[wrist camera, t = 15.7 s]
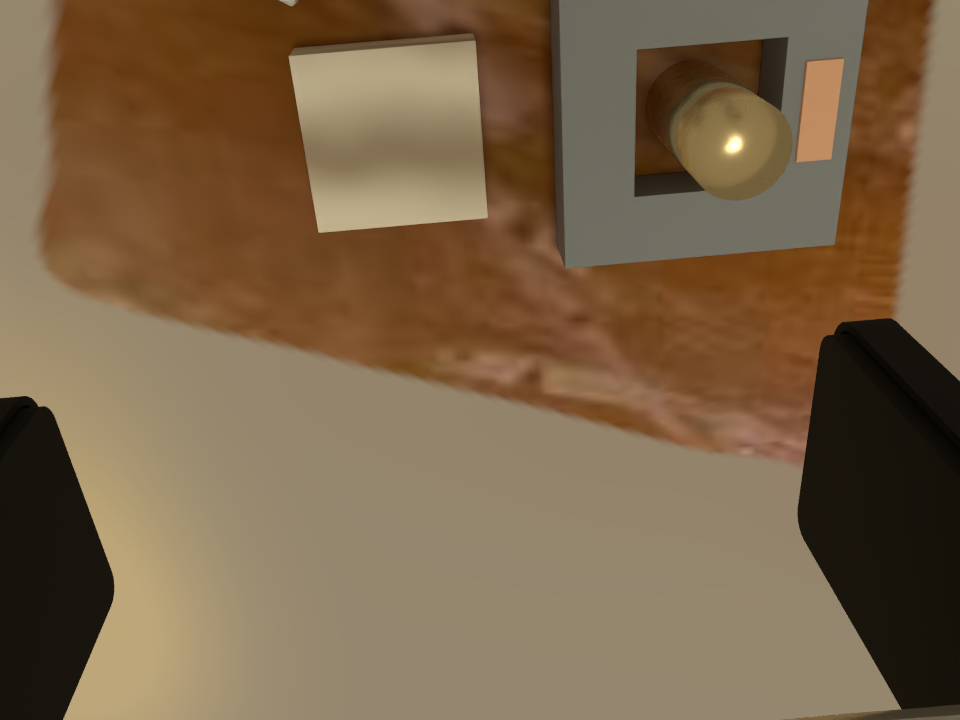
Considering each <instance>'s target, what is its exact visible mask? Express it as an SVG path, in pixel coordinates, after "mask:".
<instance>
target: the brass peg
mask: <svg viewBox="0 0 960 720" xmlns="http://www.w3.org/2000/svg"><path fill="white" fill-rule="evenodd" d="M646 118H647V121H648V125H649V127H650V129H651V130H652V132H653V133H654V134H655V135H656V137H657V138H658V139H659V140H660V141H661V142H662V143H663V144H664V145H665V147H666V148H667V149H668V150H669V151H670V152H671V153H672V154H673V155H674V157H675V158H676V159H677V160H678V161H679V162H680V163H681V164H682V165H683V167H684V168H685V169H686V170H687V171H688V172H689V173H690V174H691V175H692V177H693V178H694V179H695V180H696V181H697V182H698V183H699V184H700V185H701V187H702V188H703V189H704V190H705V191H707V192H708V193H709V194H711V195H713V196H715V197H717V198H719V199H723V200H730V201H739V200H745V199H749V198H752V197H754V196H757V195H759V194H761V193H762V192H764V191H765V190H767V189H768V188H770V187H771V186H772V185H773V184H774V183H775V182H776V181H777V180H778V179H779V178H780V176H781V175H782V174H783V172H784V170H785V169H786V167H787V165H788V162H789V160H790V157H791V153H792V146H793V138H792V132H791V128H790V125H789V123H788V121H787V119H786V118H785V116H784V115H783V114H782V113H781V112H780V111H779V110H778V109H777V108H776V107H774V106H773V105H771V104H770V103H768V102H766V101H765V100H763V99H762V98H760V97H759V96H757V95H756V94H754V93H753V92H751V91H750V90H748V89H747V88H745V87H744V86H742V85H740V84H739V83H737V82H736V81H734V80H733V79H731V78H730V77H728V76H727V75H725V74H724V73H722V72H721V71H719V70H718V69H716V68H715V67H713V66H711V65H709V64H707V63H704V62H701V61H686V62H682V63H678V64H676V65H674V66H672V67H670V68H668V69H667V70H666V71H664V72H663V73H662V74H661V75H660V76H659V77H658V78H657V79H656V81H655V82H654V84H653V85H652V87H651V89H650V91H649V94H648V97H647V101H646Z"/></svg>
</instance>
